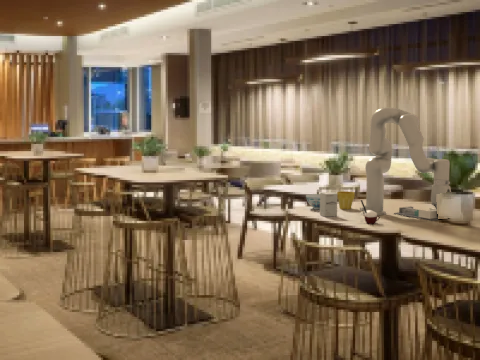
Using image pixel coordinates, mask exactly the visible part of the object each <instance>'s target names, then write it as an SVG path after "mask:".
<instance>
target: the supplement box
mask: <svg viewBox="0 0 480 360" xmlns="http://www.w3.org/2000/svg"><path fill="white" fill-rule="evenodd" d="M319 194H320V210H319V215H320V216H322V217H324V218H325V217H337V215H338V198H337V192H331V191H329V192H320V193H319Z"/></svg>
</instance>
